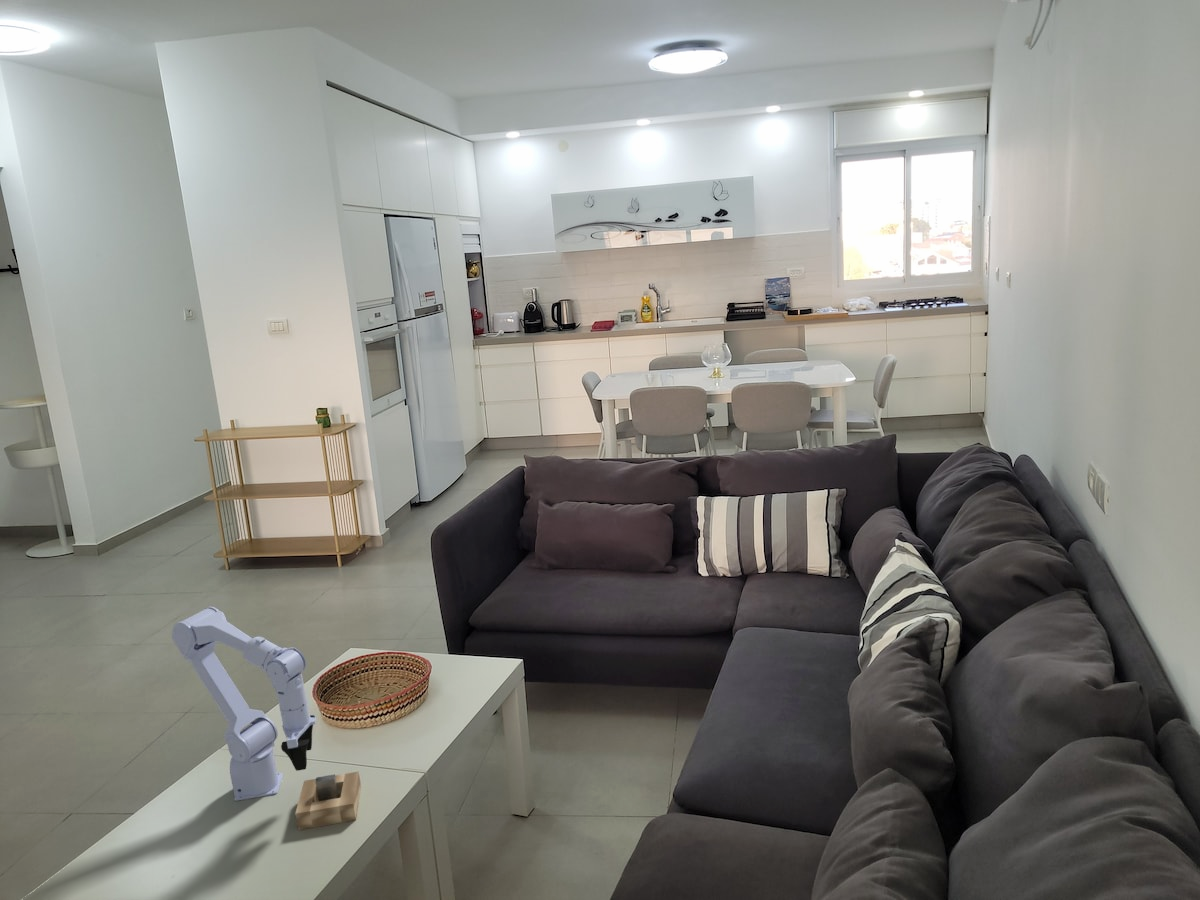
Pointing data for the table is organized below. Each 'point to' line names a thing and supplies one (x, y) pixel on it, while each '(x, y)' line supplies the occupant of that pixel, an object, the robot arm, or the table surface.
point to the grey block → (327, 787)
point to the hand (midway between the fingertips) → (303, 759)
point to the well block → (329, 803)
